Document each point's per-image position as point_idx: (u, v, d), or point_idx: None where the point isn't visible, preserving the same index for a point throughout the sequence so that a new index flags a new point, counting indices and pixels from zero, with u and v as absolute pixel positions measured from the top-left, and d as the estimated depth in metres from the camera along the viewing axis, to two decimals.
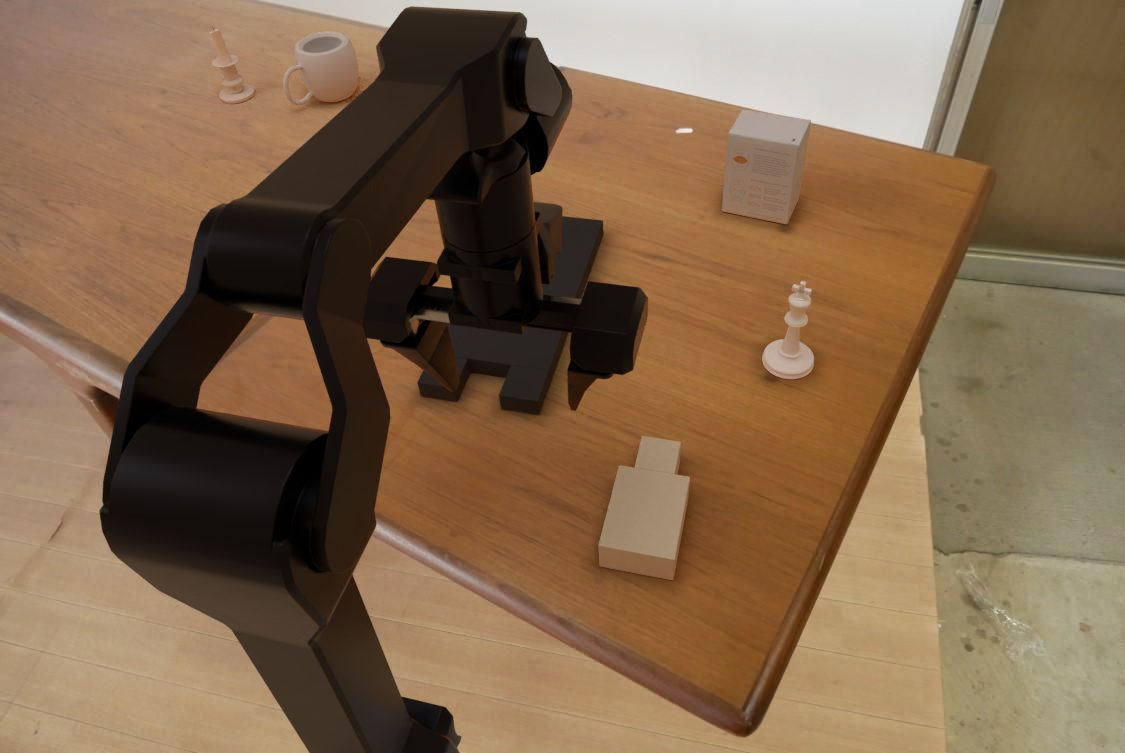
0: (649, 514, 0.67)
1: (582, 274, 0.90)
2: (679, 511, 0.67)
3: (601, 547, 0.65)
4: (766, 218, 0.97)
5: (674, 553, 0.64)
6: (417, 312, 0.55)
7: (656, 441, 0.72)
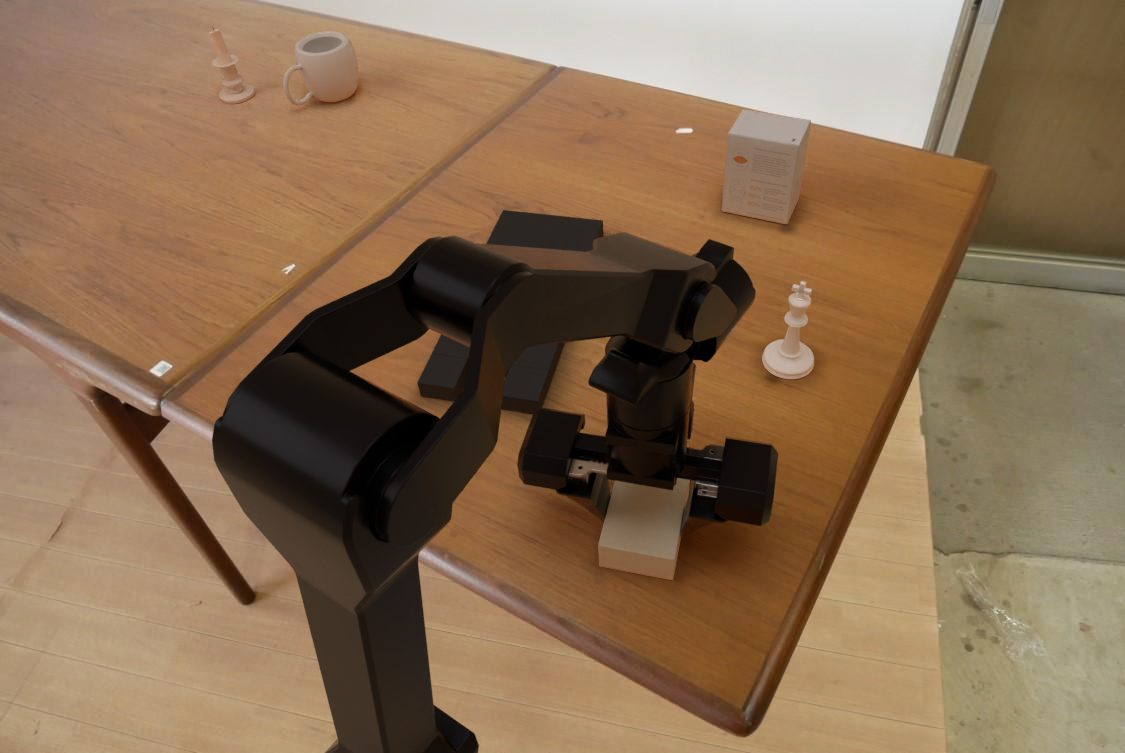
0: (649, 514, 0.67)
1: None
2: (679, 511, 0.67)
3: (600, 547, 0.65)
4: (766, 218, 0.97)
5: (674, 553, 0.64)
6: (591, 466, 0.62)
7: None
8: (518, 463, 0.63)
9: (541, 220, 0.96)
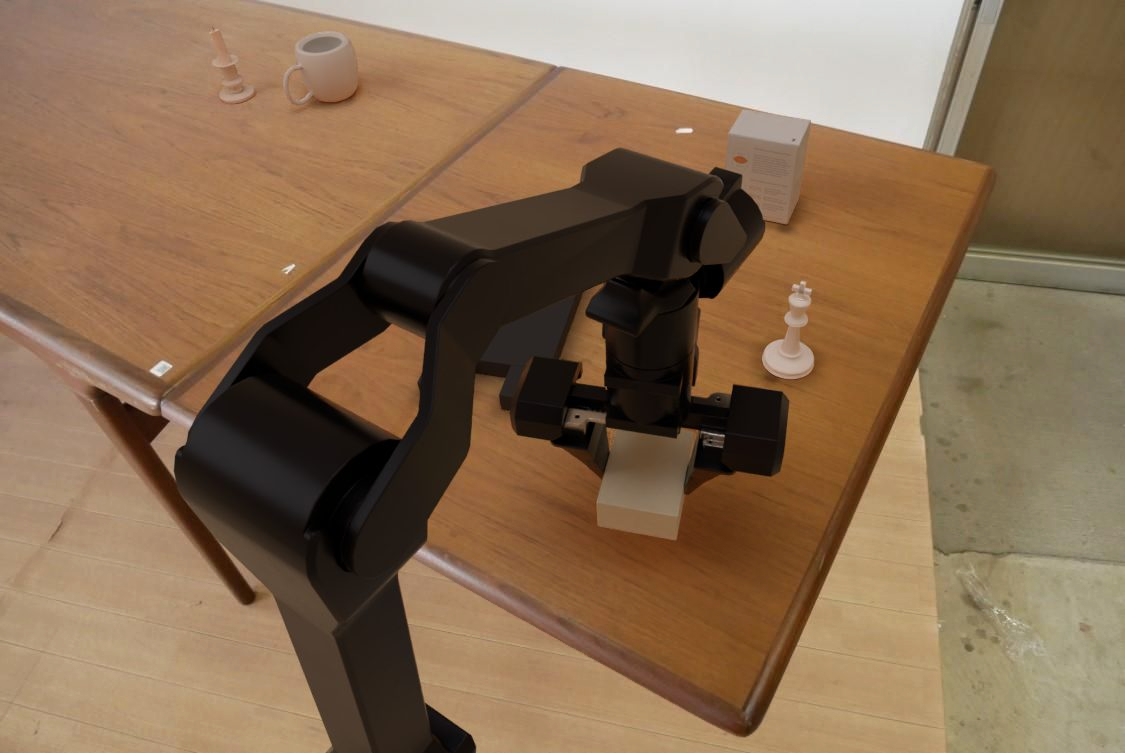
0: (651, 469, 0.63)
1: None
2: (683, 467, 0.63)
3: (599, 504, 0.61)
4: (766, 218, 0.97)
5: (677, 510, 0.60)
6: (589, 415, 0.58)
7: None
8: (511, 412, 0.58)
9: None
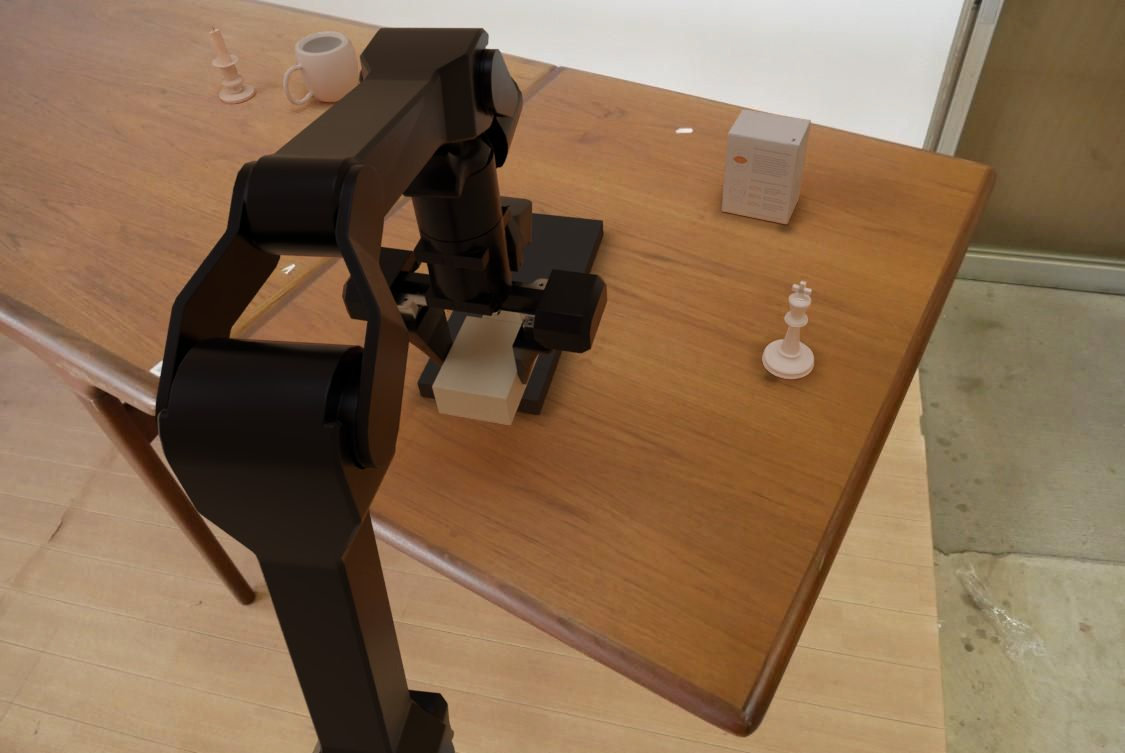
0: (489, 358, 0.66)
1: None
2: None
3: (435, 388, 0.64)
4: (766, 218, 0.97)
5: (507, 393, 0.63)
6: (417, 298, 0.61)
7: None
8: (343, 295, 0.61)
9: (541, 220, 0.96)
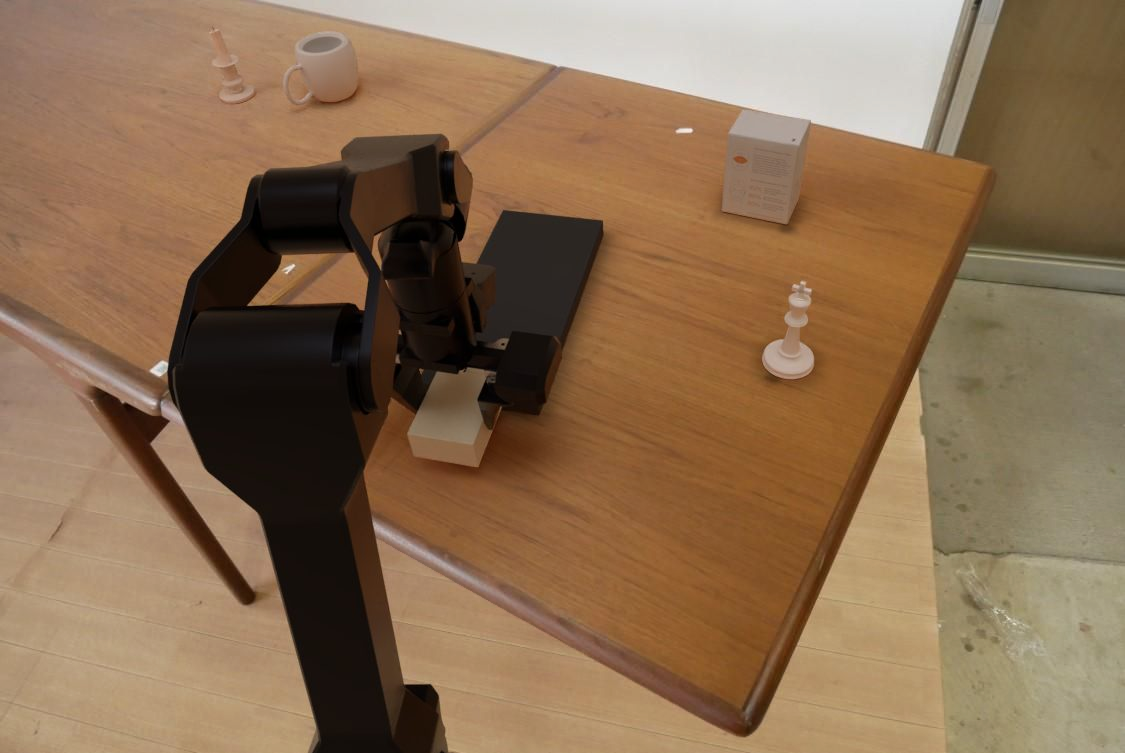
0: (458, 407, 0.73)
1: (582, 274, 0.90)
2: None
3: (409, 435, 0.72)
4: (766, 218, 0.97)
5: (473, 439, 0.71)
6: None
7: None
8: None
9: (541, 220, 0.96)
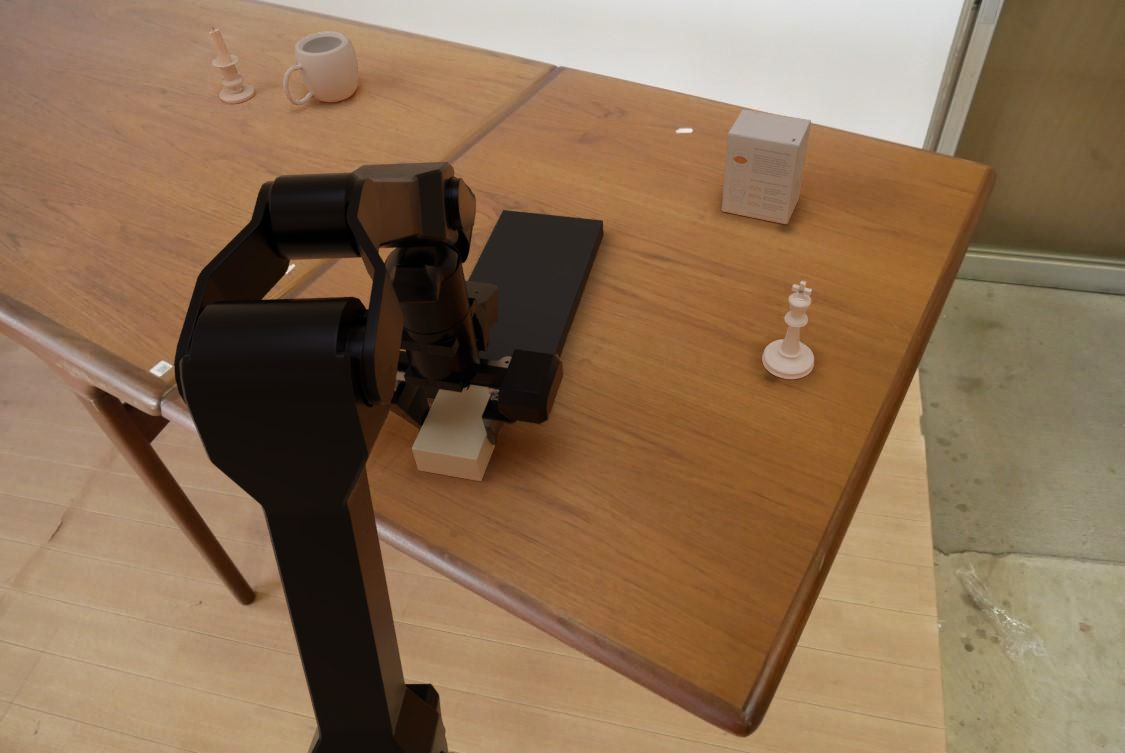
0: (461, 422, 0.75)
1: (582, 274, 0.90)
2: None
3: (414, 450, 0.73)
4: (766, 218, 0.97)
5: (477, 454, 0.72)
6: (396, 375, 0.70)
7: None
8: None
9: (541, 220, 0.96)
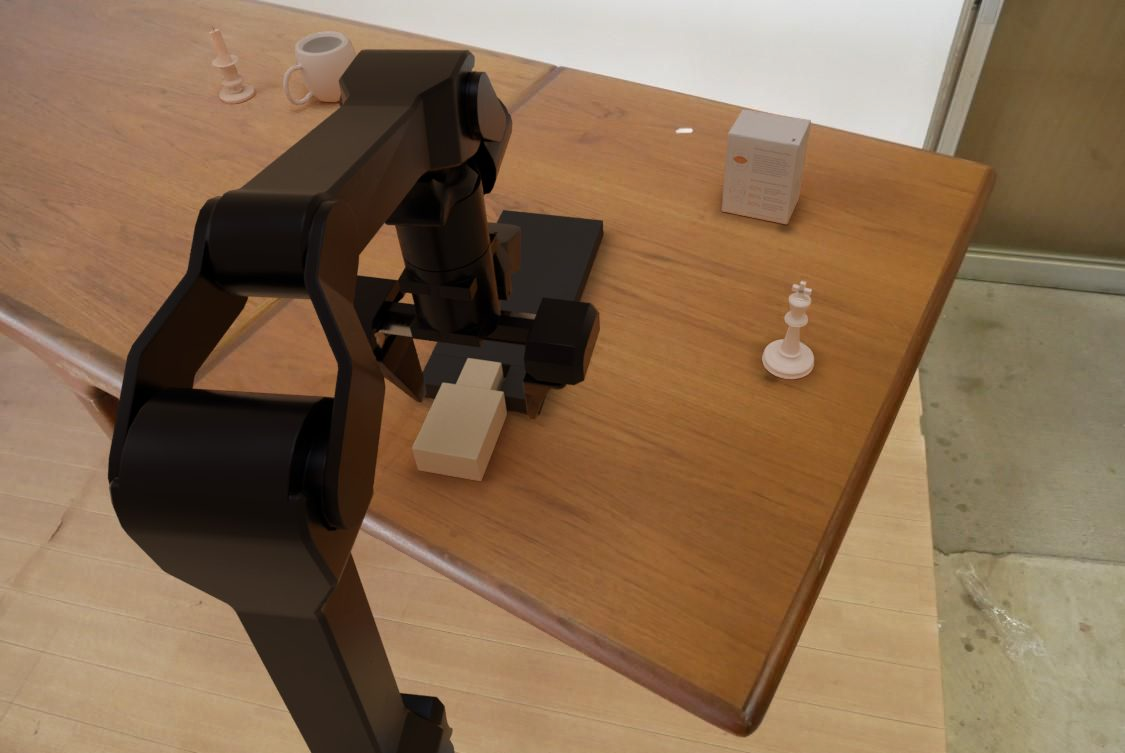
0: (461, 422, 0.75)
1: (582, 274, 0.90)
2: (488, 420, 0.75)
3: (414, 450, 0.73)
4: (766, 218, 0.97)
5: (477, 454, 0.72)
6: (382, 327, 0.59)
7: (479, 362, 0.80)
8: None
9: (541, 220, 0.96)
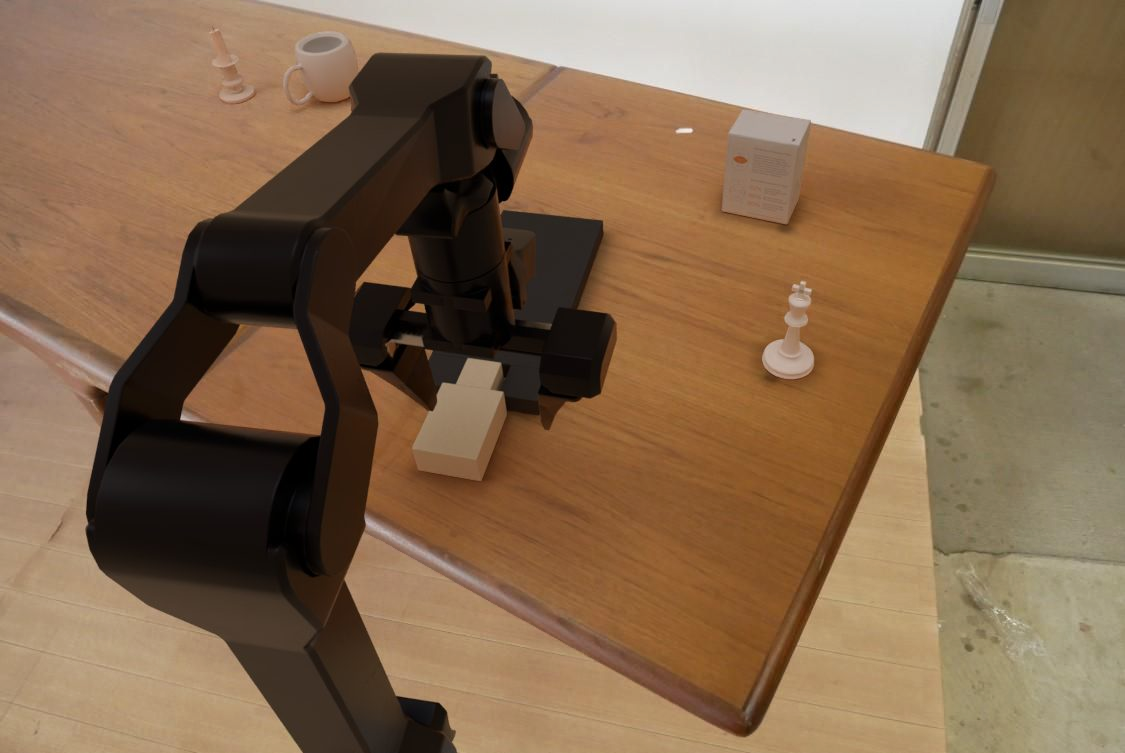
0: (461, 422, 0.75)
1: (582, 274, 0.90)
2: (488, 420, 0.75)
3: (414, 450, 0.73)
4: (766, 218, 0.97)
5: (477, 454, 0.72)
6: (393, 336, 0.57)
7: (479, 362, 0.80)
8: None
9: (541, 220, 0.96)
